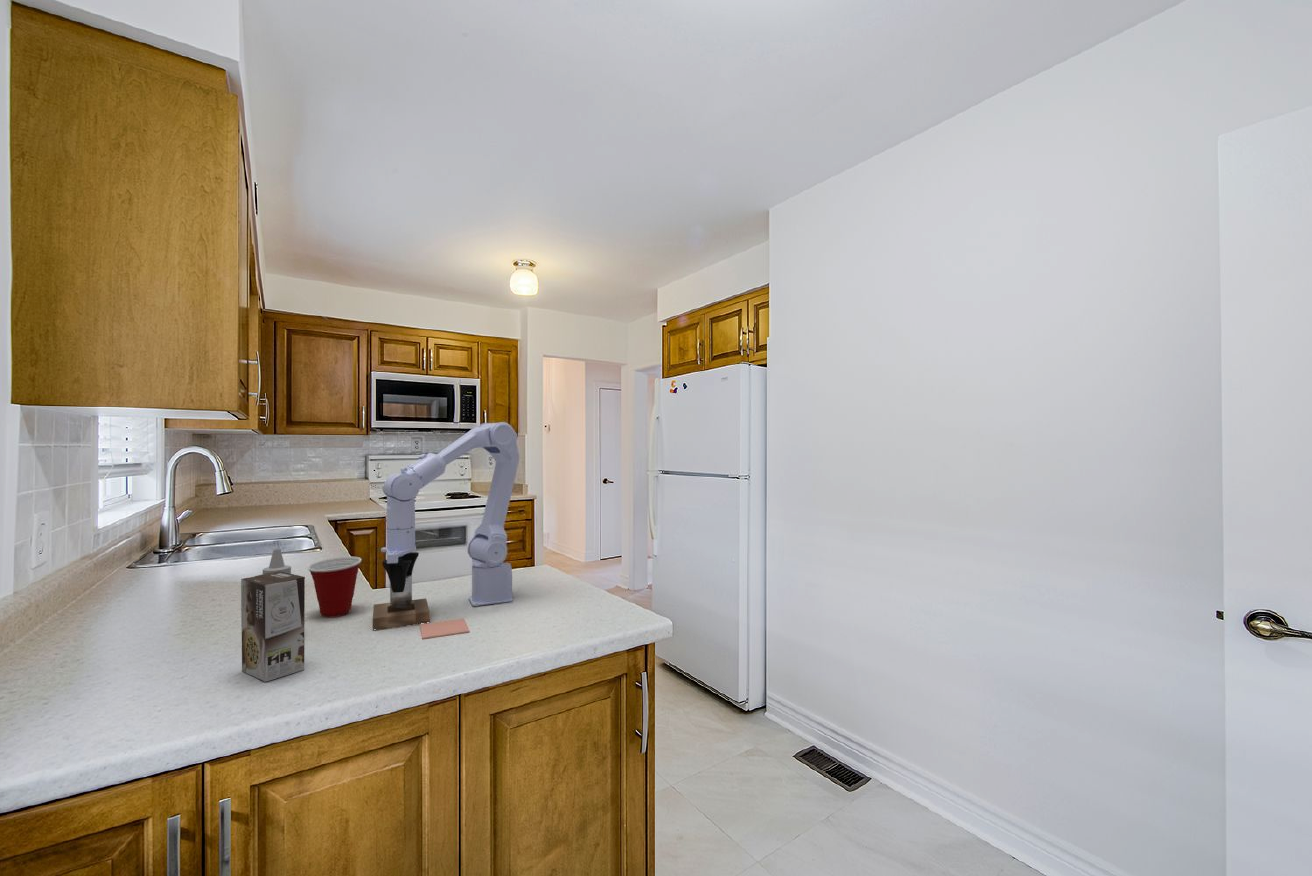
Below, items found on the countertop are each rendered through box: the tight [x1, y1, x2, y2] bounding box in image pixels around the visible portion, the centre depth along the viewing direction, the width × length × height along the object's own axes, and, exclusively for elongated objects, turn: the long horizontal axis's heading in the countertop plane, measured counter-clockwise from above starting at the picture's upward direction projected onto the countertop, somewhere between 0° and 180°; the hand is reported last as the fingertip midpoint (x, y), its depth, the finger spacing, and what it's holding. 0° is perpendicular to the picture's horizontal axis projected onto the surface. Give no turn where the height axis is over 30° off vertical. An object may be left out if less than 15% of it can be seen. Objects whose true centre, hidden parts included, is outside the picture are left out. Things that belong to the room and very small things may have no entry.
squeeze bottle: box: [262, 548, 292, 574], centre depth 110 cm, size 8×8×18 cm
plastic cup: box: [307, 556, 363, 618], centre depth 126 cm, size 11×11×12 cm
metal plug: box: [389, 575, 413, 608], centre depth 122 cm, size 4×4×6 cm
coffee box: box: [240, 571, 306, 683], centre depth 95 cm, size 9×6×16 cm
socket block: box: [372, 597, 431, 631], centre depth 122 cm, size 11×11×2 cm
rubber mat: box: [419, 617, 471, 640], centre depth 116 cm, size 9×9×1 cm
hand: (401, 589), depth 122 cm, fingers closed on metal plug, 4 cm apart
